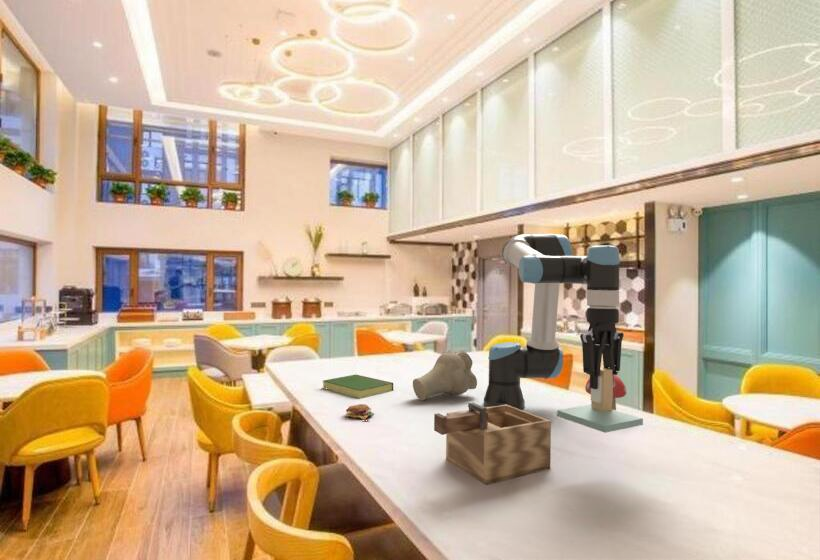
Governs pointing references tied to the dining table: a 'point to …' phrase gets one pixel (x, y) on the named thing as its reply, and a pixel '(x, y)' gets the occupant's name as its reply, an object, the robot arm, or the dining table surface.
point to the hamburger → (359, 412)
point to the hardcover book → (358, 385)
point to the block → (457, 422)
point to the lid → (601, 411)
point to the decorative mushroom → (618, 390)
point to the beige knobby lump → (447, 376)
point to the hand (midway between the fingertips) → (601, 400)
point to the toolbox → (501, 444)
